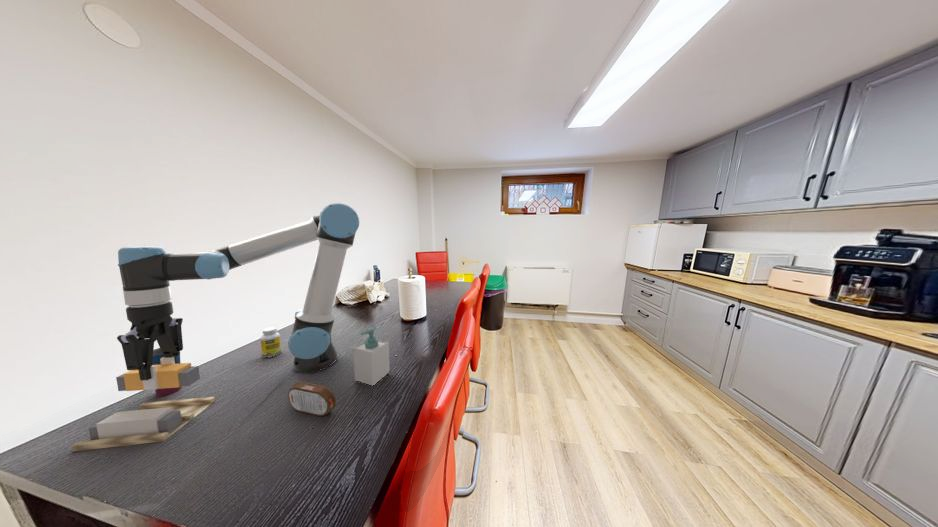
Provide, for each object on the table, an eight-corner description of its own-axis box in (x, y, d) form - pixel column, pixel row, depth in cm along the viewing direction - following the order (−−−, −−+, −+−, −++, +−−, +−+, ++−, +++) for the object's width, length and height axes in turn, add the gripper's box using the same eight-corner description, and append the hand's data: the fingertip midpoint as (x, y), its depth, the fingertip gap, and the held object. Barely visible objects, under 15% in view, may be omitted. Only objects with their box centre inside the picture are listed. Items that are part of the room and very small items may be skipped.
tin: (337, 412, 71) (335, 386, 70) (328, 420, 68) (327, 393, 67) (296, 403, 74) (294, 378, 73) (286, 410, 71) (284, 384, 70)
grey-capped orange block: (117, 391, 64) (114, 374, 63) (135, 382, 68) (132, 366, 67) (187, 386, 66) (185, 370, 66) (201, 378, 70) (199, 362, 70)
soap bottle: (354, 381, 85) (351, 331, 83) (372, 368, 94) (370, 322, 91) (372, 387, 82) (370, 335, 80) (389, 373, 90) (388, 326, 88)
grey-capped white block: (183, 422, 65) (180, 406, 64) (167, 435, 61) (164, 417, 60) (110, 430, 62) (107, 412, 62) (89, 443, 58) (85, 425, 58)
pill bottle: (261, 359, 99) (259, 333, 97) (262, 353, 104) (259, 328, 102) (281, 355, 103) (279, 329, 101) (281, 349, 108) (279, 325, 106)
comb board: (215, 403, 74) (214, 396, 73) (164, 443, 59) (163, 435, 59) (145, 409, 71) (144, 402, 70) (73, 454, 56) (71, 445, 56)
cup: (162, 402, 74) (154, 356, 72) (146, 398, 75) (139, 354, 73) (191, 388, 80) (185, 346, 79) (176, 385, 82) (170, 344, 80)
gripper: (167, 295, 72) (176, 368, 75) (88, 314, 55) (104, 406, 58) (196, 295, 73) (204, 366, 76) (127, 313, 56) (141, 403, 59)
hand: (161, 383), depth 67 cm, fingers closed on grey-capped orange block, 4 cm apart
